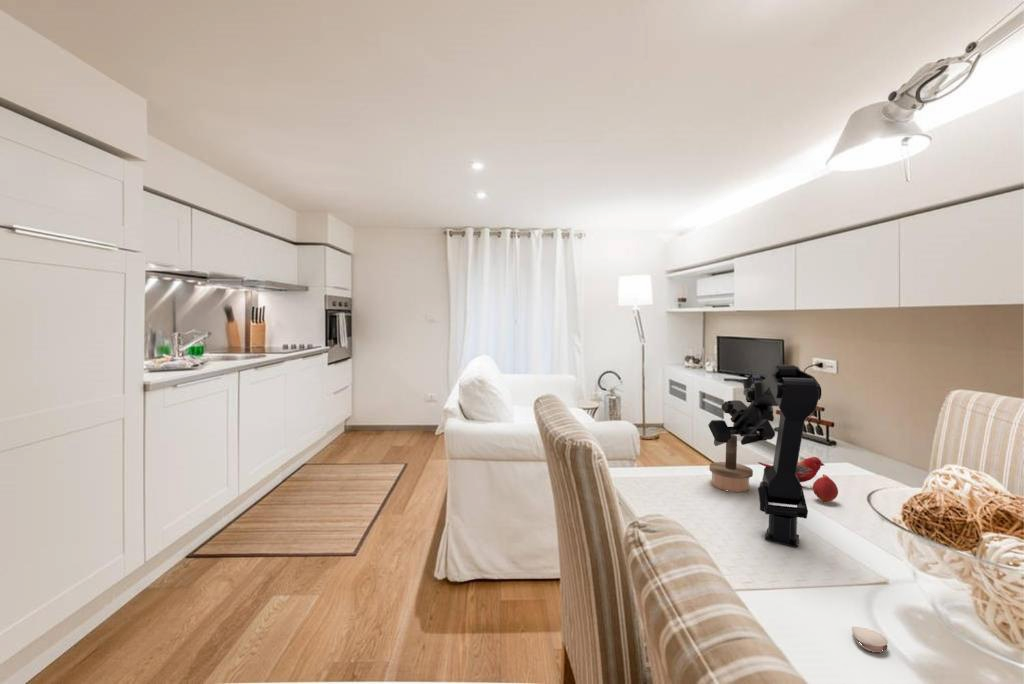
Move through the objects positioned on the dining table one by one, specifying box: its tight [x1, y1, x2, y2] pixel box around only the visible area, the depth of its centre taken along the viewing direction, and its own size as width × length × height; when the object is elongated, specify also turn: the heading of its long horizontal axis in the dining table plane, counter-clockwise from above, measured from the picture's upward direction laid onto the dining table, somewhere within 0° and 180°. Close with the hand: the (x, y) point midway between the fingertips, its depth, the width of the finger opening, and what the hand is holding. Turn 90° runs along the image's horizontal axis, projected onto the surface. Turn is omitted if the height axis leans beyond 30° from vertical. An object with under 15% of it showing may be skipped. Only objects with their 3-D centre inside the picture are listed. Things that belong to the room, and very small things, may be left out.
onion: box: [812, 473, 839, 503], centre depth 127 cm, size 6×6×8 cm
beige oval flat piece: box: [851, 625, 889, 654], centre depth 71 cm, size 4×5×2 cm
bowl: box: [711, 472, 750, 493], centre depth 139 cm, size 10×10×4 cm
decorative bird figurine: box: [757, 456, 825, 488], centre depth 139 cm, size 3×18×10 cm, turn 64°
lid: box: [708, 435, 754, 479], centre depth 138 cm, size 12×12×11 cm
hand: (728, 444), depth 140 cm, fingers open, 9 cm apart
